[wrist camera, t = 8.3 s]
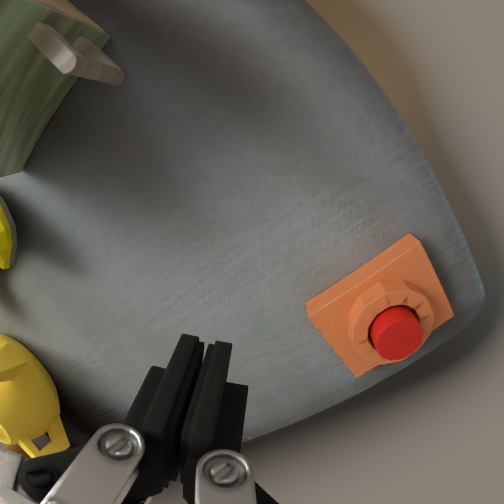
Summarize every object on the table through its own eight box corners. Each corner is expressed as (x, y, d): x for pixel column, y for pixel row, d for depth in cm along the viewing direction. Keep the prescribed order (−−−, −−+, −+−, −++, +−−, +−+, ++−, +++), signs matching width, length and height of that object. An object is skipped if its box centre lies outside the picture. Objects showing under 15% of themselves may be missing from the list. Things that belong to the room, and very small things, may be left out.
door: (151, 71, 20) (46, 30, 8) (51, 208, 24) (-52, 258, 13) (106, 32, 19) (0, -11, 7) (17, 167, 23) (-86, 197, 12)
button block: (409, 232, 23) (430, 249, 19) (444, 303, 25) (463, 326, 21) (305, 302, 25) (309, 329, 22) (352, 362, 27) (360, 392, 24)
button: (404, 297, 21) (412, 309, 19) (421, 329, 22) (429, 342, 20) (362, 324, 22) (367, 338, 20) (382, 354, 23) (388, 368, 21)
